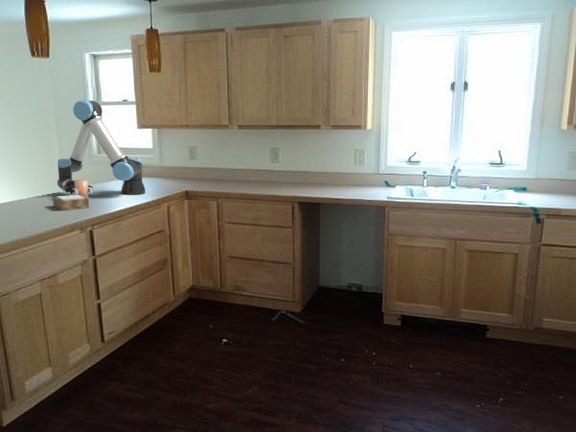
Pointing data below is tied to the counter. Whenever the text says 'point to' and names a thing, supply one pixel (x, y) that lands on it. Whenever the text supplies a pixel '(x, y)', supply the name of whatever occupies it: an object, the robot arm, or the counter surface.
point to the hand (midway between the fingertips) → (84, 191)
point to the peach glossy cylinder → (82, 188)
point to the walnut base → (70, 202)
